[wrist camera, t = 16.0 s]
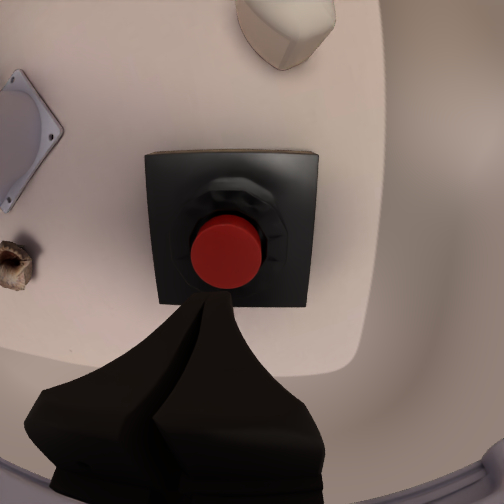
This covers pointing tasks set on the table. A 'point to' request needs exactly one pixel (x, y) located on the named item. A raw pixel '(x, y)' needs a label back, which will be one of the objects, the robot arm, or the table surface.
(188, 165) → the box
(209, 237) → the button
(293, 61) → the eye dropper bottle
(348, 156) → the table surface
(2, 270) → the seashell
